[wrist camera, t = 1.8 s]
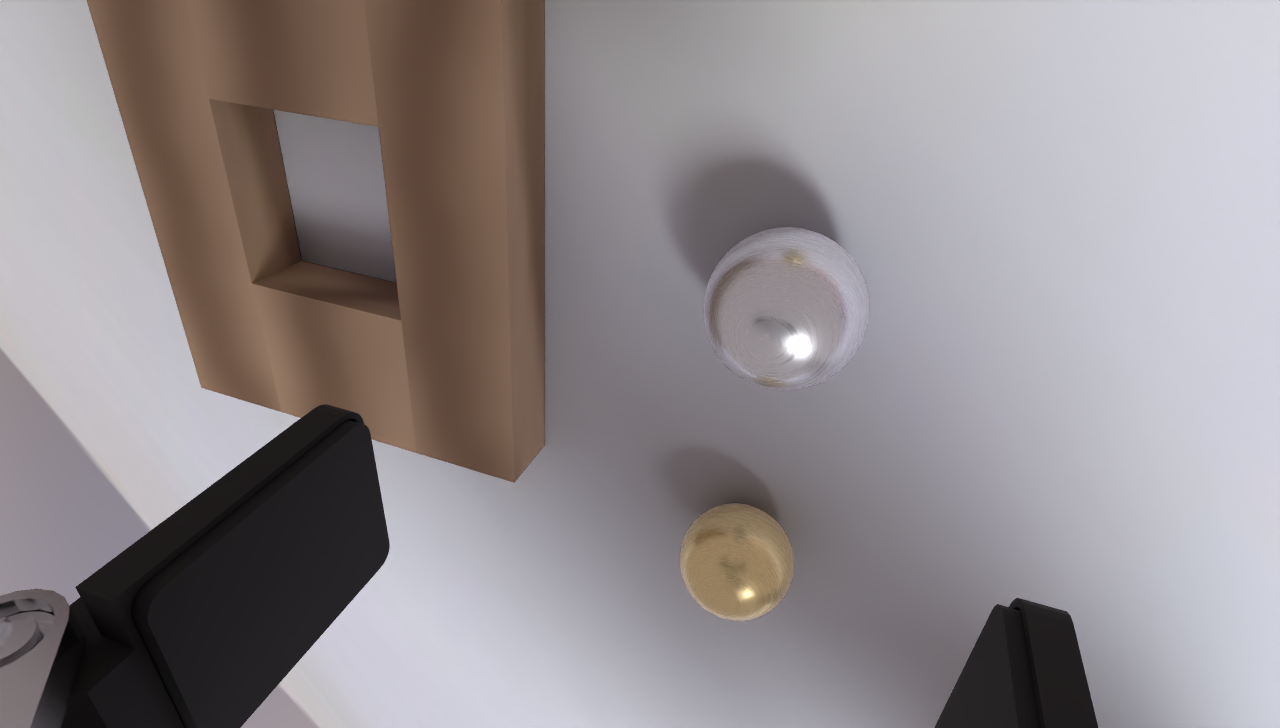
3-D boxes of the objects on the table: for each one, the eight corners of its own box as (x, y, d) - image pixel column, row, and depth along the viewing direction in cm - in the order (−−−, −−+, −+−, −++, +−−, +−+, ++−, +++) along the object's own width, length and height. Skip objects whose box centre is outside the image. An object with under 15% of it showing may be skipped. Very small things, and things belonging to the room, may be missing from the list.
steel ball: (891, 222, 19) (883, 279, 16) (855, 360, 22) (841, 439, 18) (734, 195, 21) (693, 243, 17) (716, 330, 23) (676, 397, 19)
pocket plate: (544, -87, 19) (497, -95, 17) (544, 445, 28) (514, 482, 26) (129, -115, 23) (50, -124, 21) (248, 361, 32) (201, 387, 30)
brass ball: (811, 498, 25) (793, 578, 21) (791, 577, 27) (772, 662, 23) (703, 468, 26) (670, 540, 22) (691, 547, 28) (660, 623, 24)
